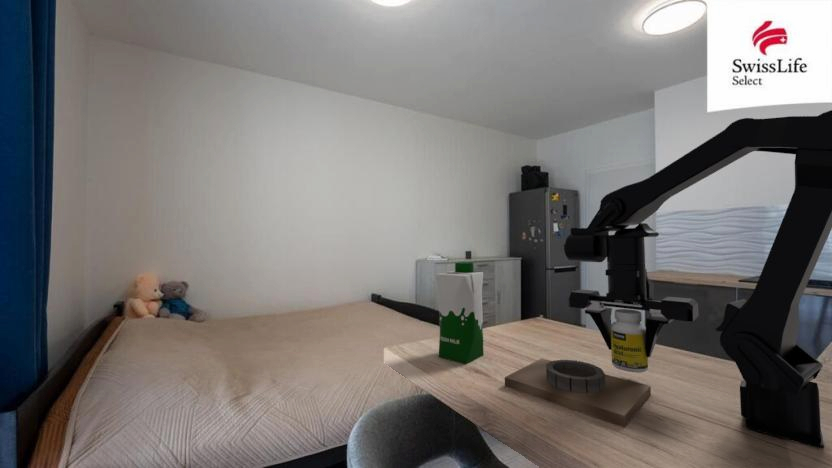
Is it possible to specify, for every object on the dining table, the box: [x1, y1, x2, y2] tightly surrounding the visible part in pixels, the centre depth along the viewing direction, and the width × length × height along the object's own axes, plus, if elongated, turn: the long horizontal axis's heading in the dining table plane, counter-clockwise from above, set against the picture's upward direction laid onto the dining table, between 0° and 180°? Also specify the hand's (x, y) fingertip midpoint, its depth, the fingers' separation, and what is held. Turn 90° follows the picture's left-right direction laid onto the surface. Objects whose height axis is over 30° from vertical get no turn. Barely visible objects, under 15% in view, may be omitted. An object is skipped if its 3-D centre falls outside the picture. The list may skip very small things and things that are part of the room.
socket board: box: [504, 358, 652, 428], centre depth 55 cm, size 18×13×4 cm
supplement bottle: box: [610, 308, 649, 374], centre depth 59 cm, size 5×5×10 cm
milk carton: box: [434, 261, 485, 365], centre depth 73 cm, size 9×9×20 cm
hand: (629, 352), depth 59 cm, fingers closed on supplement bottle, 5 cm apart
